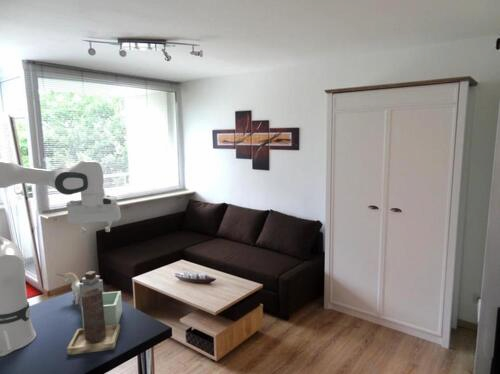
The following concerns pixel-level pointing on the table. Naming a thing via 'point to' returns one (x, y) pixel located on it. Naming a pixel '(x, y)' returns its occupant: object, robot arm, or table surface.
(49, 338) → the table surface
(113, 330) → the tray
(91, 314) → the wooden log
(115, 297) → the mint green open box
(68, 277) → the unicorn figurine
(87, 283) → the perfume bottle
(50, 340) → the table surface
